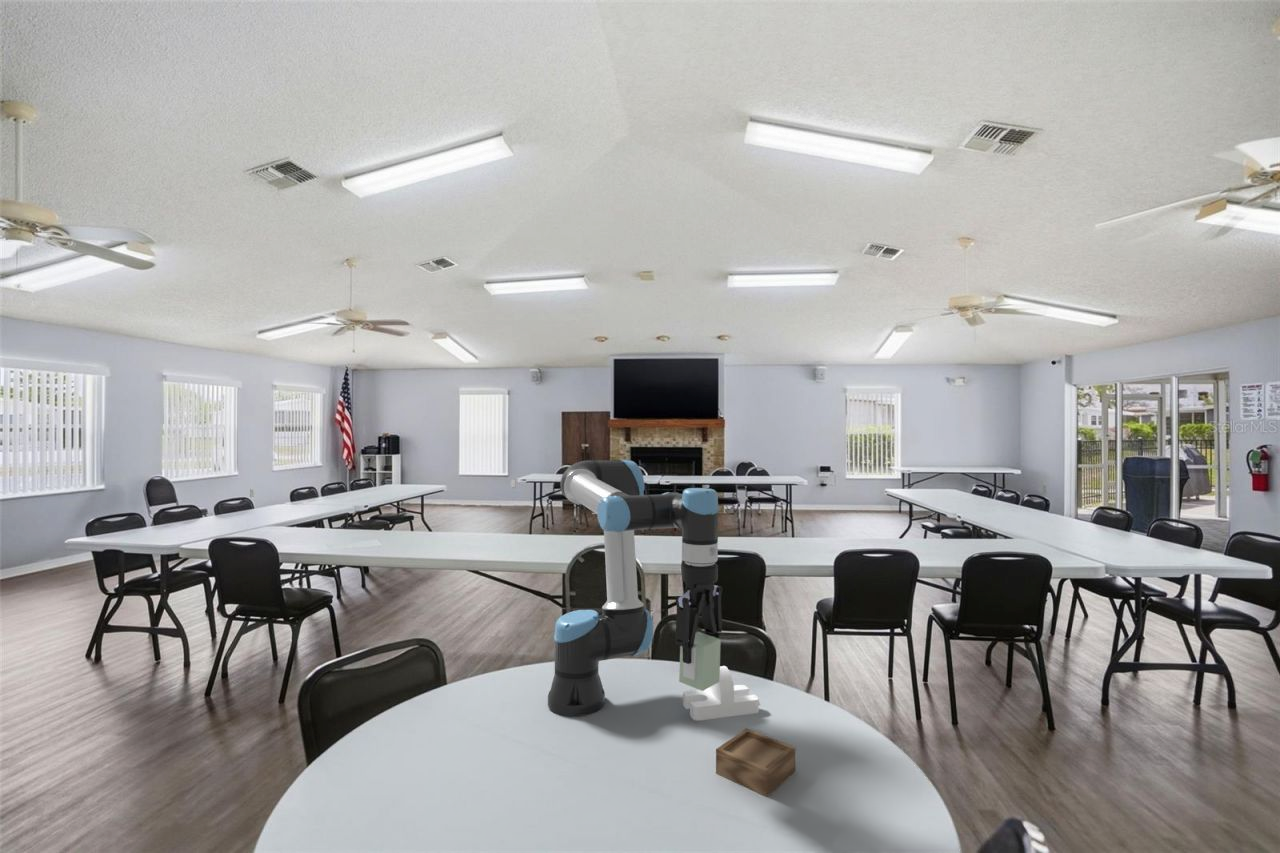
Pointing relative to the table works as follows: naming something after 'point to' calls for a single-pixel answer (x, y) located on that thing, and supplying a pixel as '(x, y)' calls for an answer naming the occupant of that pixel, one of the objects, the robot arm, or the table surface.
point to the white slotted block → (720, 699)
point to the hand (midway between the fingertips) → (699, 672)
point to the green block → (704, 662)
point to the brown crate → (755, 761)
